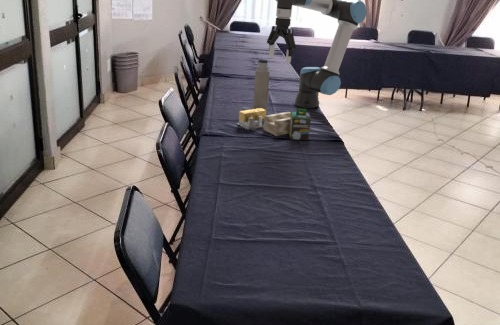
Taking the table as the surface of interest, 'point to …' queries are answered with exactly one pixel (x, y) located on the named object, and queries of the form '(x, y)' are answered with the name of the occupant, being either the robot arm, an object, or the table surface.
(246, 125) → the stand
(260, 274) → the table surface
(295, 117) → the chalk box
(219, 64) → the table surface
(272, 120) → the beige channeled block
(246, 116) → the wooden block
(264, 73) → the thermos bottle
